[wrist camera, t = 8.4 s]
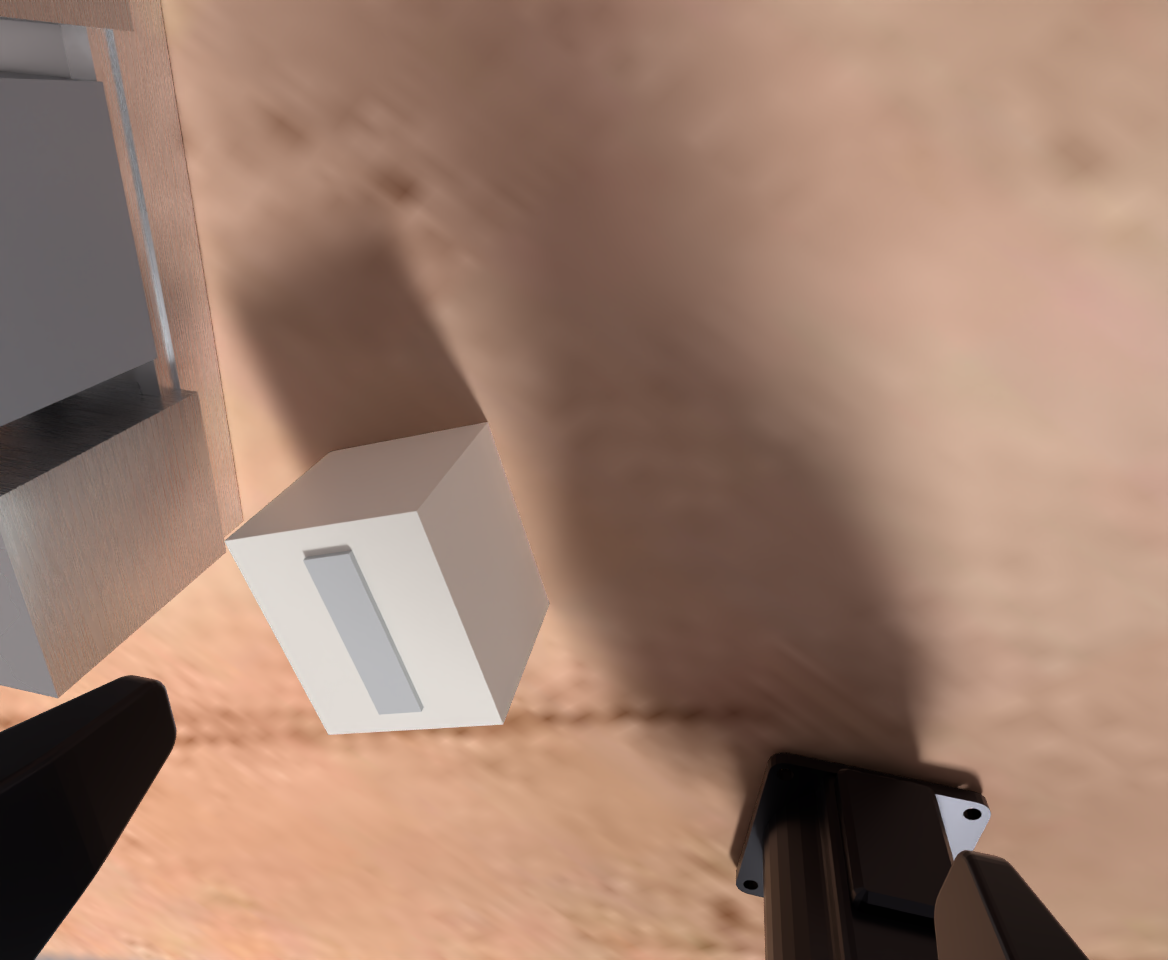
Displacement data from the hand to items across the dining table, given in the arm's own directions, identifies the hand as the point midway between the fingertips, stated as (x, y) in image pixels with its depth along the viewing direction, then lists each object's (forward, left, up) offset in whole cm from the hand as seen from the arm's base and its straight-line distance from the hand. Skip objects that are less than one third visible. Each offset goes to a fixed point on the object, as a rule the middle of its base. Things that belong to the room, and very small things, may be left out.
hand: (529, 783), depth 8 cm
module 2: (-5, +6, -12) cm, 14 cm away
